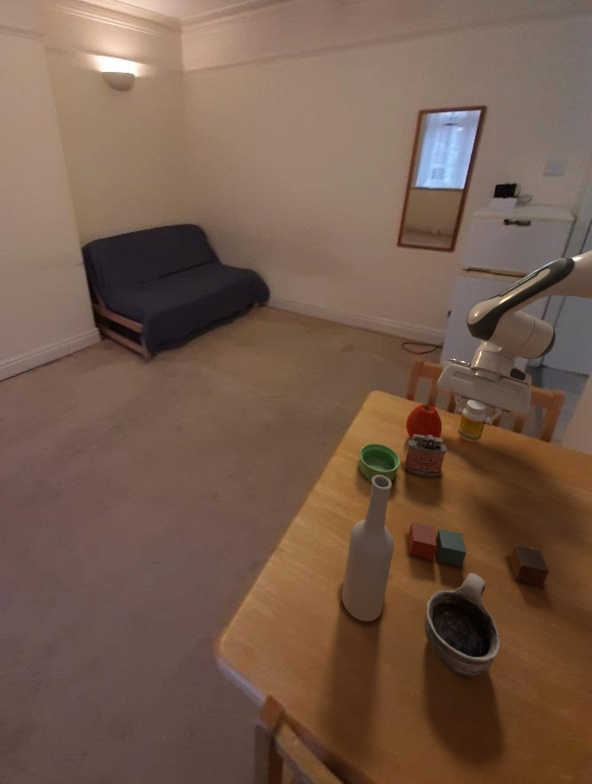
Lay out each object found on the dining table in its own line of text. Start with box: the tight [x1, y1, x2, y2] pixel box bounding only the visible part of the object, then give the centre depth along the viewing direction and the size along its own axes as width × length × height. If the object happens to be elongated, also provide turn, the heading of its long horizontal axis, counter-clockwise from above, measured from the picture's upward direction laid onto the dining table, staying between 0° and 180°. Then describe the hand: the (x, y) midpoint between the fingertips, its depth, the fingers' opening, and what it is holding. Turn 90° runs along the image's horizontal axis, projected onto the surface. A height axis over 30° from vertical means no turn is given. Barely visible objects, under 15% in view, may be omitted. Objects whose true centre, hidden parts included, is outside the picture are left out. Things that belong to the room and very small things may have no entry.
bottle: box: [341, 475, 395, 622], centre depth 63 cm, size 7×7×28 cm
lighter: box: [403, 434, 448, 477], centre depth 93 cm, size 8×3×10 cm, turn 74°
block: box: [435, 528, 467, 567], centre depth 75 cm, size 4×4×4 cm
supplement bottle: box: [456, 400, 488, 442], centre depth 101 cm, size 5×5×10 cm
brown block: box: [508, 544, 550, 587], centre depth 72 cm, size 4×4×4 cm
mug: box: [424, 572, 501, 677], centre depth 62 cm, size 10×12×10 cm
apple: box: [405, 403, 443, 440], centre depth 102 cm, size 8×8×11 cm
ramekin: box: [358, 442, 401, 482], centre depth 94 cm, size 9×9×4 cm
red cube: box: [408, 522, 437, 560], centre depth 77 cm, size 4×4×4 cm
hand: (472, 419), depth 100 cm, fingers closed on supplement bottle, 5 cm apart
